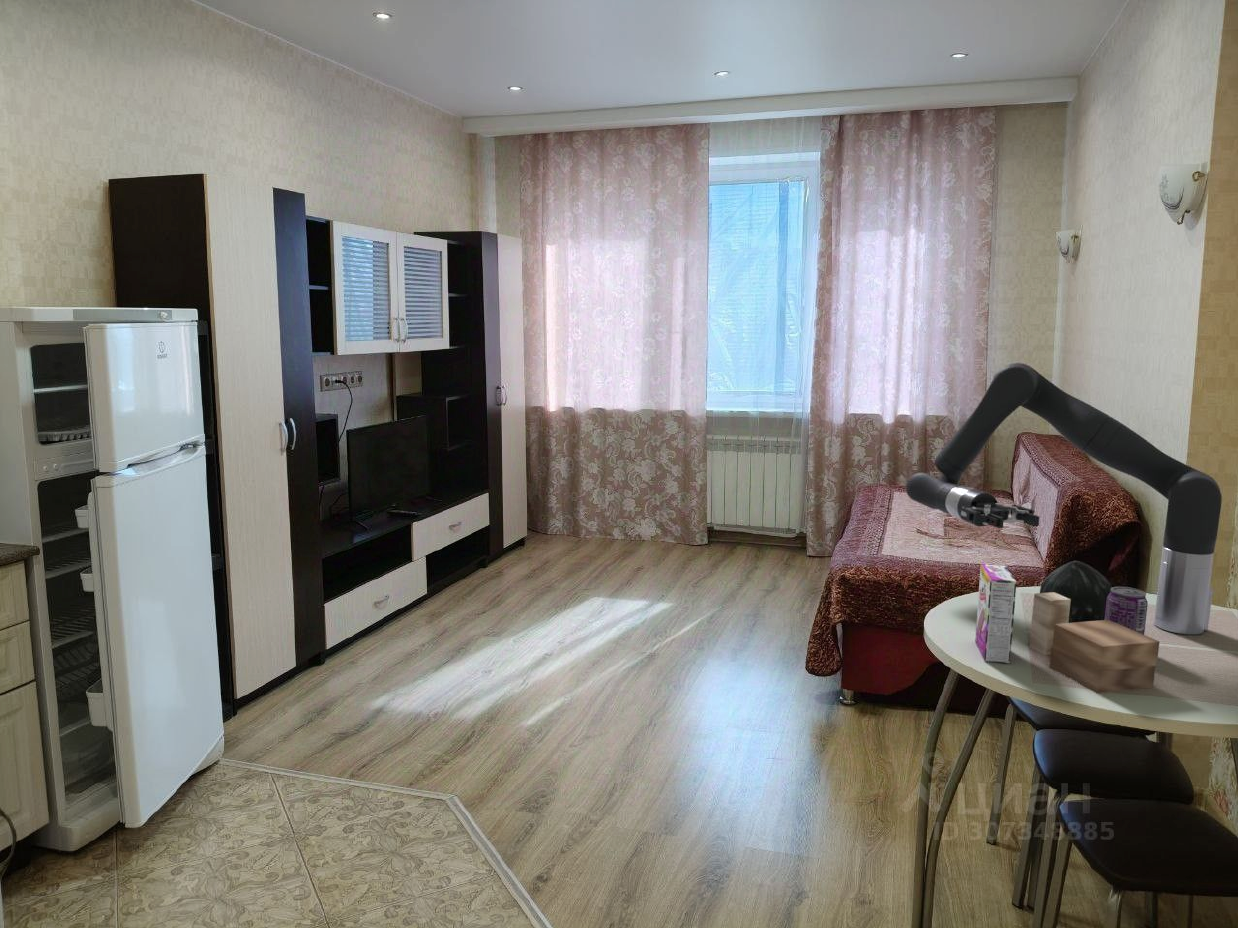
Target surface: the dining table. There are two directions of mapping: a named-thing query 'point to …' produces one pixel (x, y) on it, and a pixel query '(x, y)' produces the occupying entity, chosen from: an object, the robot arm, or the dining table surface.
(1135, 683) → the lower slab
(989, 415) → the robot arm
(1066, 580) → the squash
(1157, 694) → the dining table surface
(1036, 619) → the birch block
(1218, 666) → the dining table surface
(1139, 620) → the beverage can
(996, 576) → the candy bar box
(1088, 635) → the upper slab
